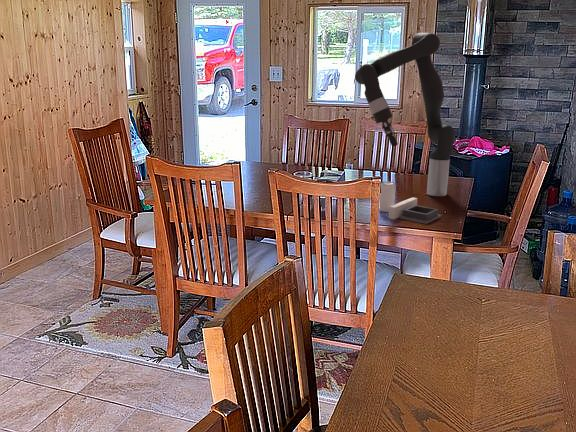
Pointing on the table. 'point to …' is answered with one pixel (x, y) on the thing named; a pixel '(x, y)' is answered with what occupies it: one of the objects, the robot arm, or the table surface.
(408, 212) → the keeper
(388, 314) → the table surface
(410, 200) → the door edge
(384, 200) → the can
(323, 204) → the drinking glass
